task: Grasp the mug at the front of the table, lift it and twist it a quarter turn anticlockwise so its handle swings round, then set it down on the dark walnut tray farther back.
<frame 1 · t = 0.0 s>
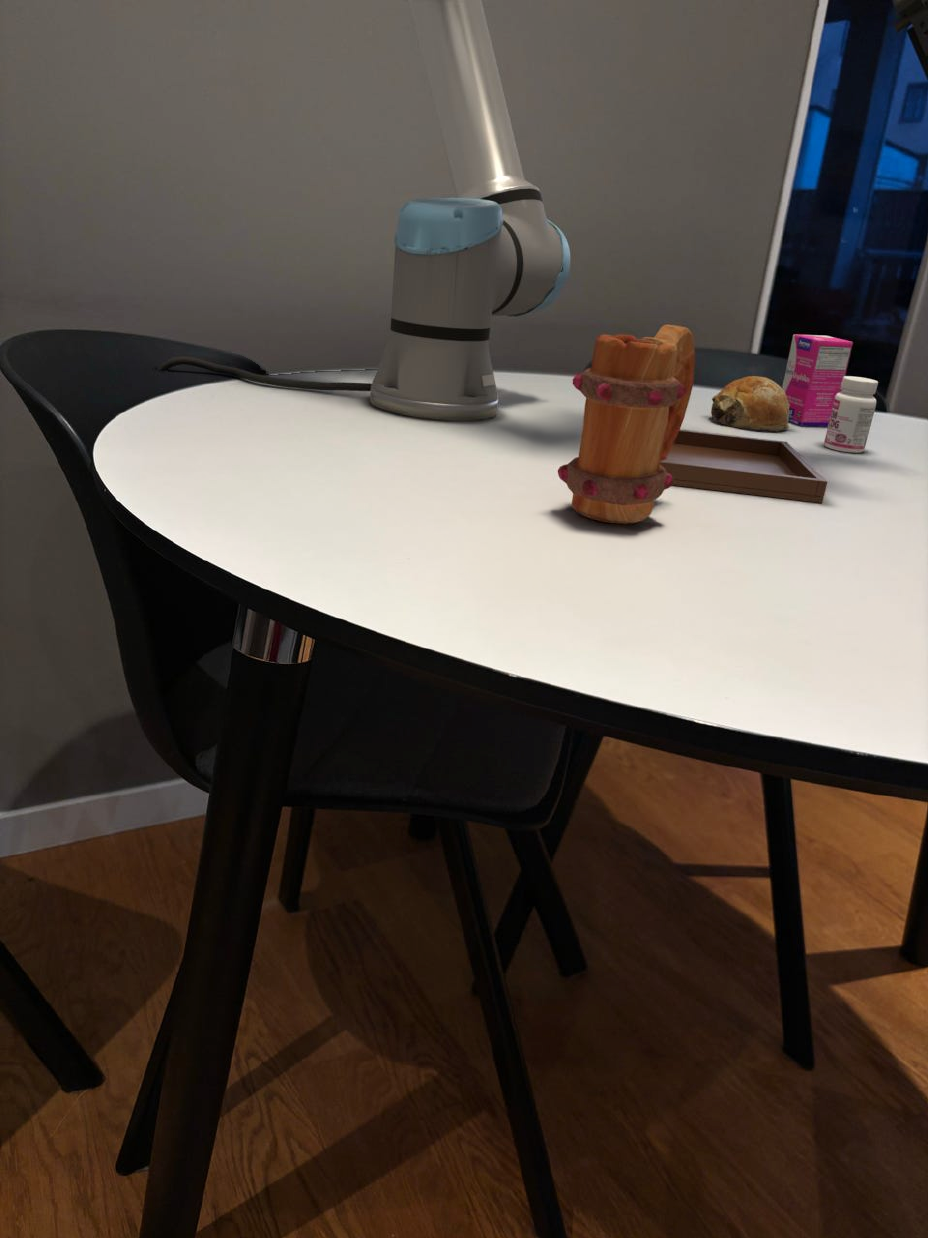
pill bottle: (842, 450, 120), on the table
mug: (623, 513, 82), on the table
tray: (700, 467, 101), on the table
bread roll: (746, 425, 129), on the table
supplement box: (803, 423, 135), on the table
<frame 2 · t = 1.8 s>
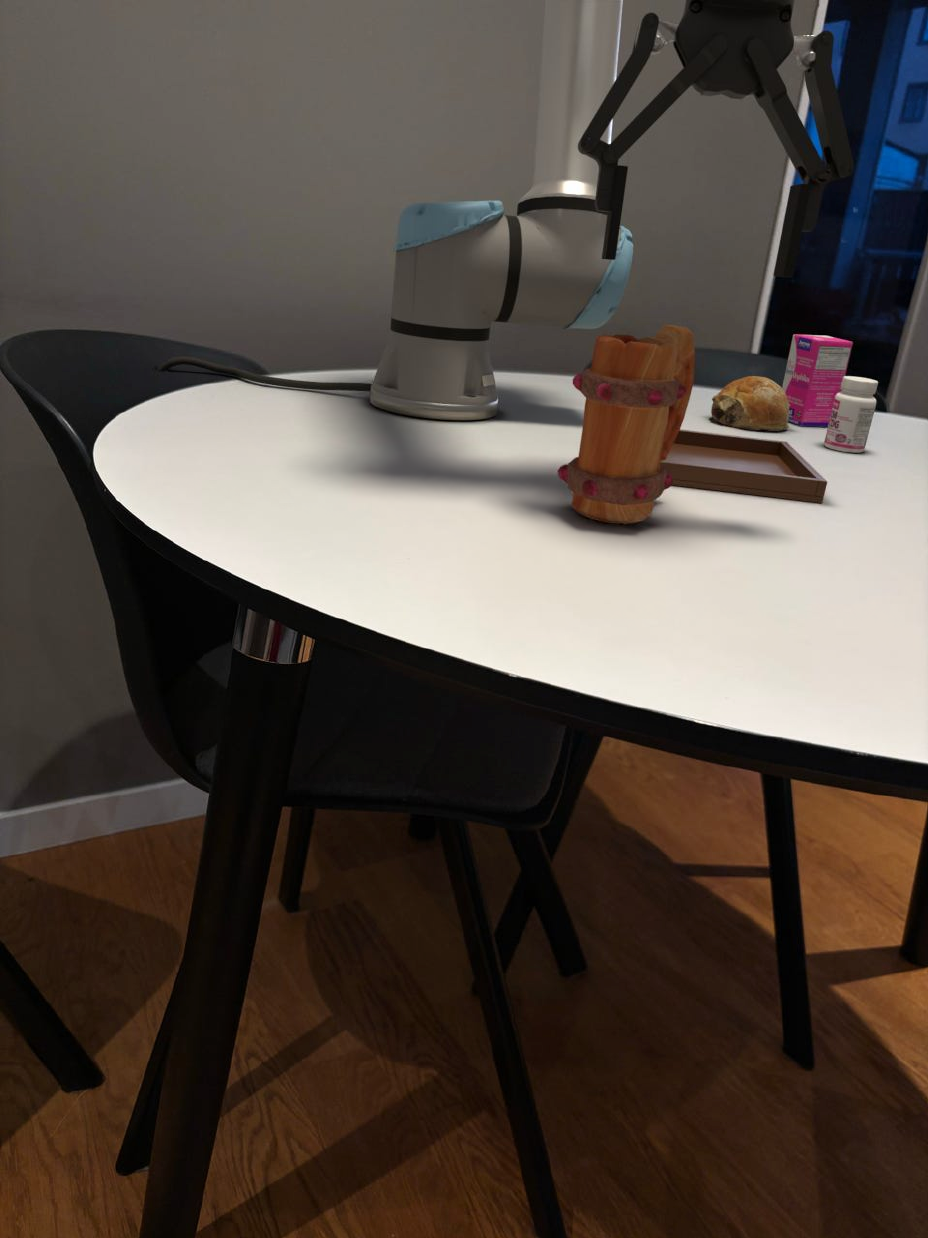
hand: (695, 268, 76), 20 cm above the table, tool pointing down, fingers open, 13 cm apart
nothing on the table moved.
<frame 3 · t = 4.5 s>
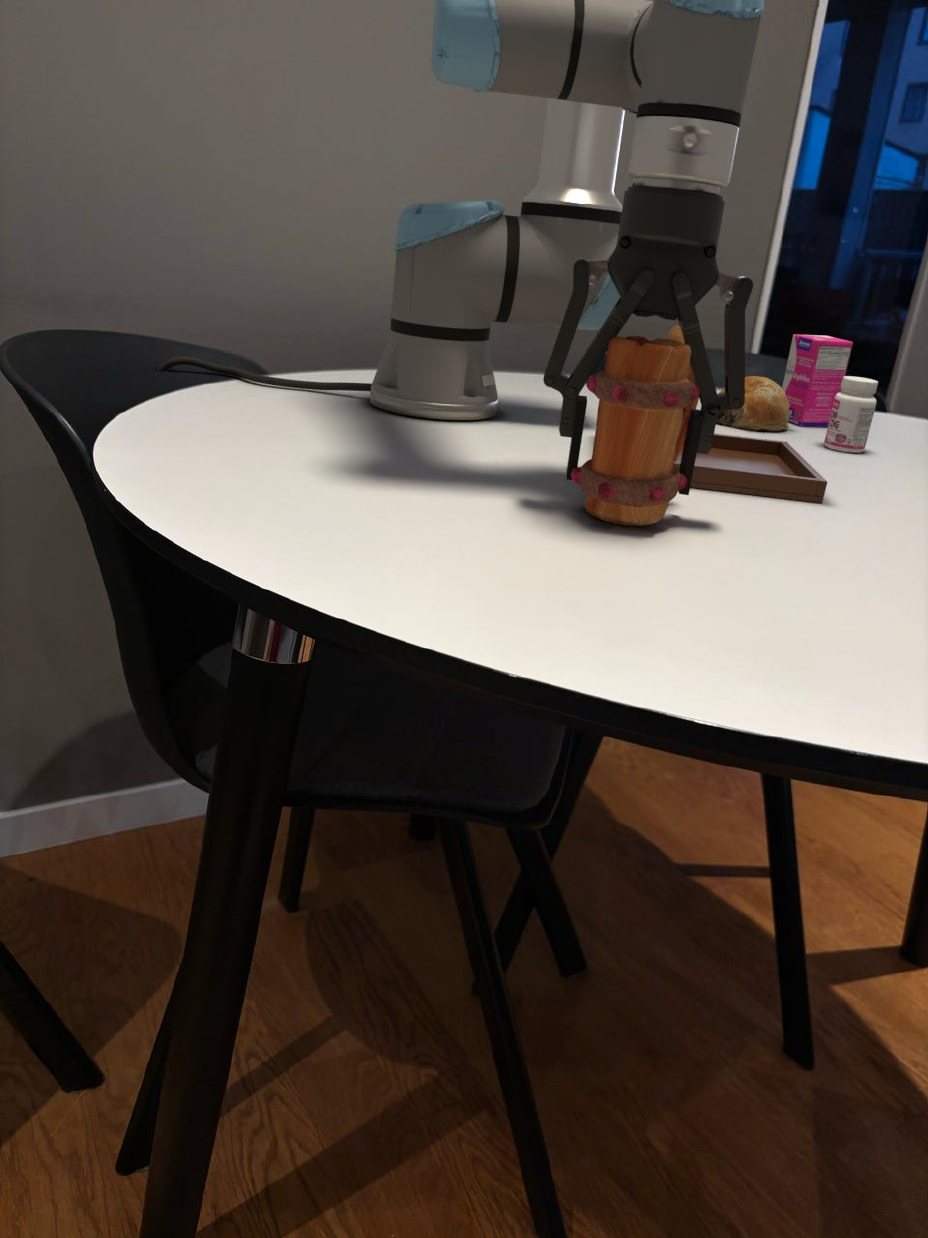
hand: (626, 483, 81), 2 cm above the table, tool pointing down, fingers closed on mug, 9 cm apart
mug: (635, 515, 82), on the table, touching gripper
everything else where it was.
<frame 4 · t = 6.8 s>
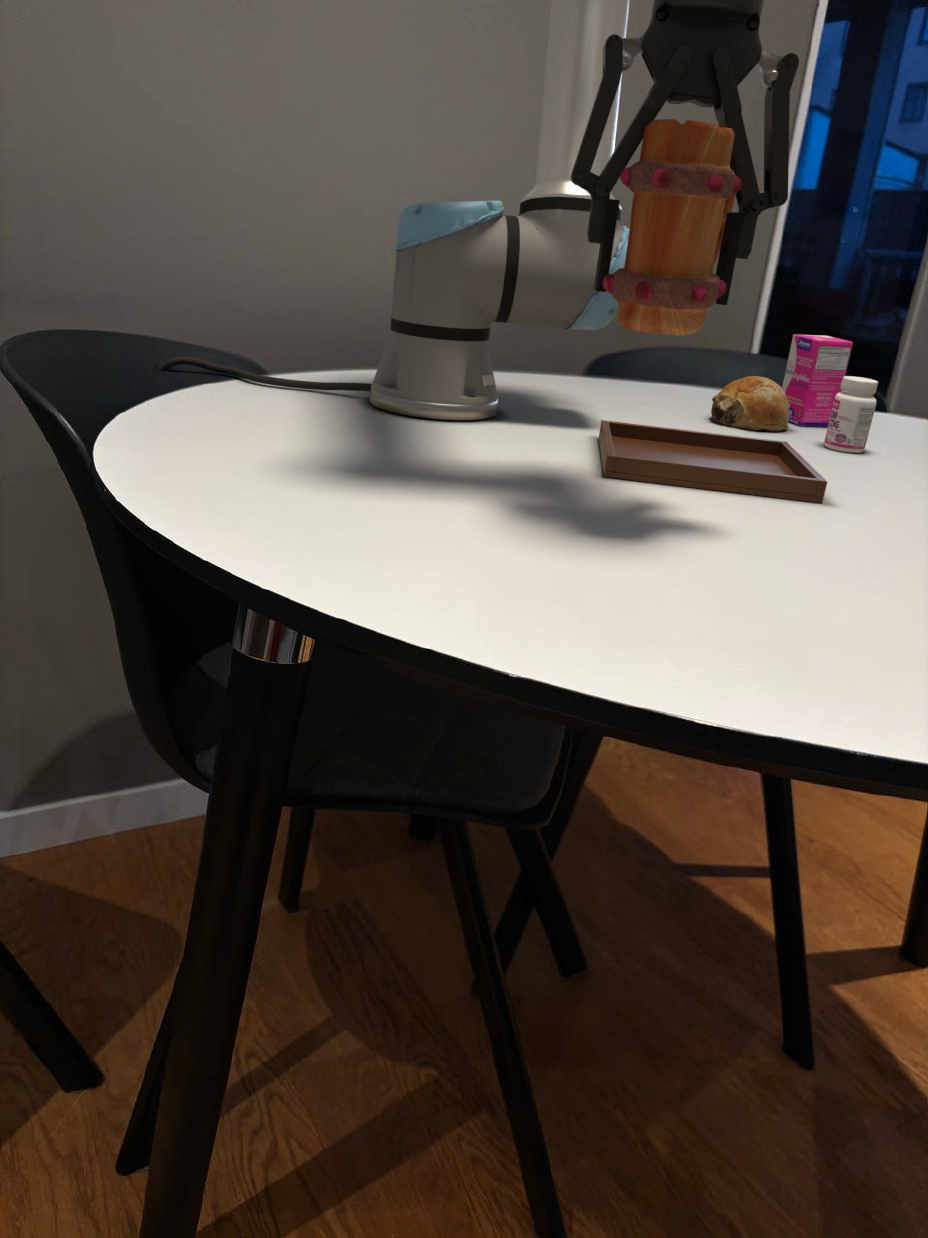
hand: (659, 296, 76), 17 cm above the table, tool pointing down, fingers closed on mug, 8 cm apart
mug: (669, 332, 77), point 15 cm above the table, touching gripper
everything else where it was.
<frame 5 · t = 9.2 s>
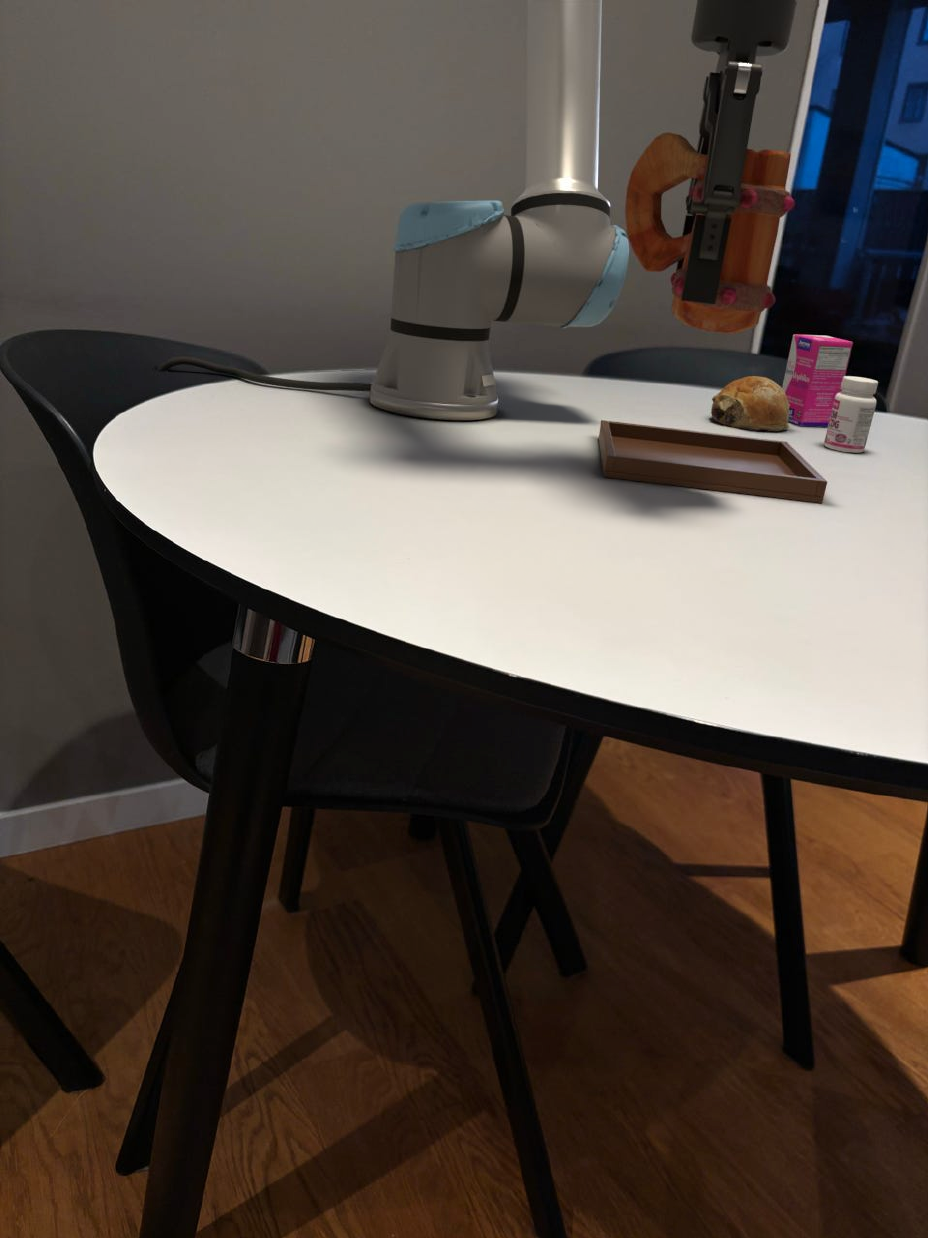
hand: (692, 297, 84), 17 cm above the table, tool pointing down, fingers closed on mug, 8 cm apart
mug: (685, 327, 86), point 14 cm above the table, touching gripper
everything else where it was.
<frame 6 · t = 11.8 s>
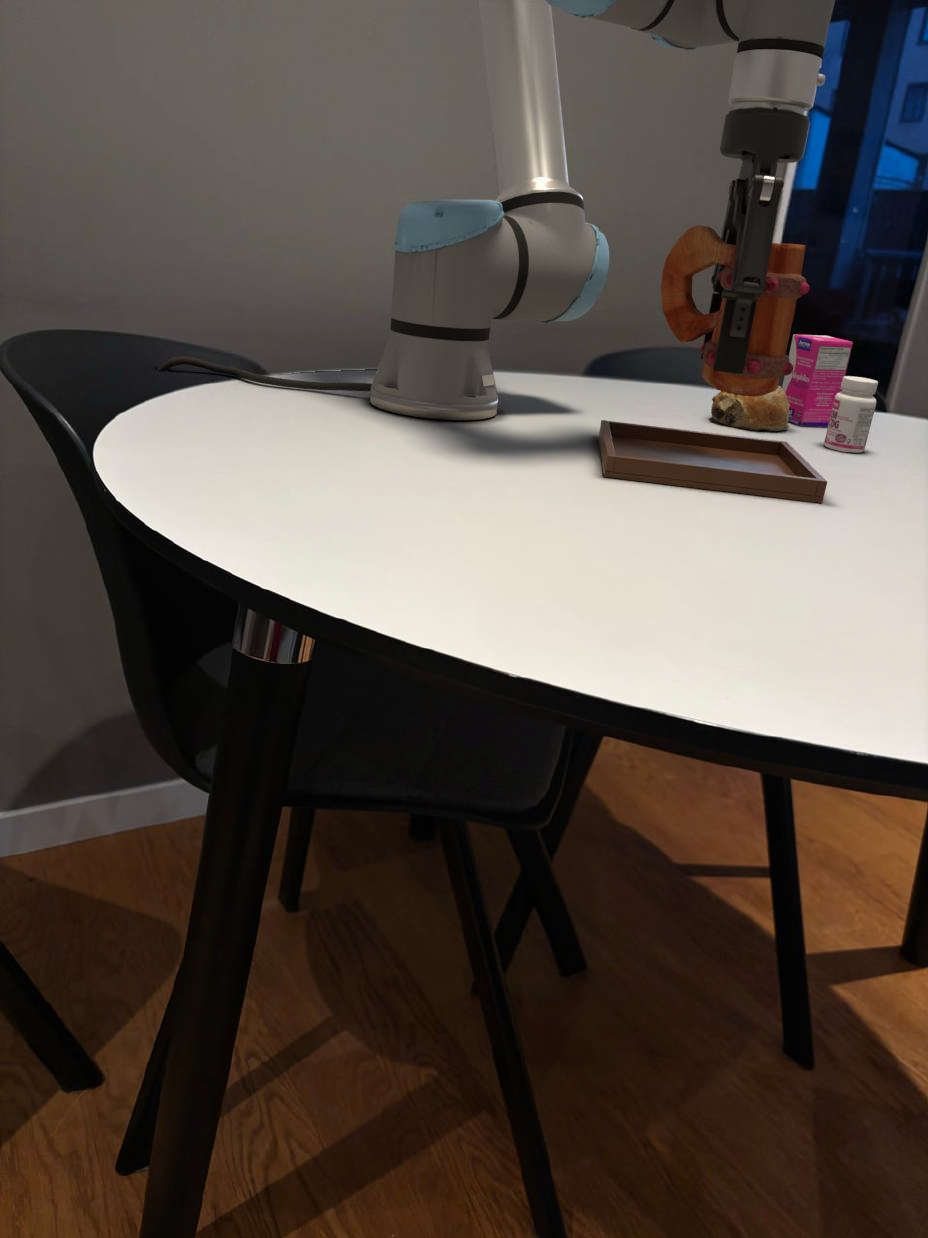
hand: (720, 365, 97), 10 cm above the table, tool pointing down, fingers closed on mug, 8 cm apart
mug: (714, 390, 99), point 8 cm above the table, touching gripper
everything else where it was.
when the fingers open (3 cm above the table, at t = 14.0 s): mug stays where it is, resting on tray.
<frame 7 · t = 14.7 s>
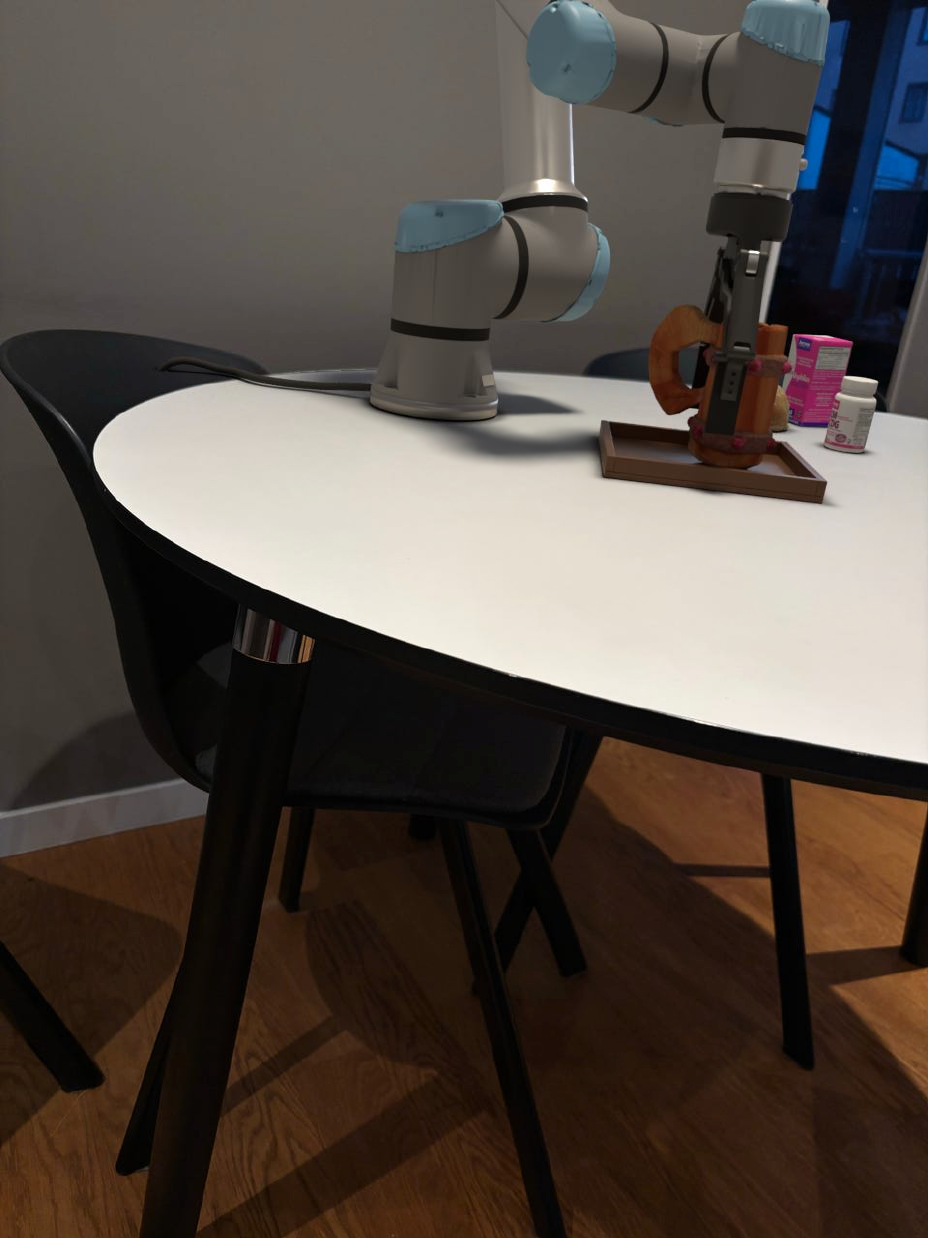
hand: (708, 420, 99), 5 cm above the table, tool pointing down, fingers open, 13 cm apart
mug: (700, 461, 102), resting on tray
everything else where it was.
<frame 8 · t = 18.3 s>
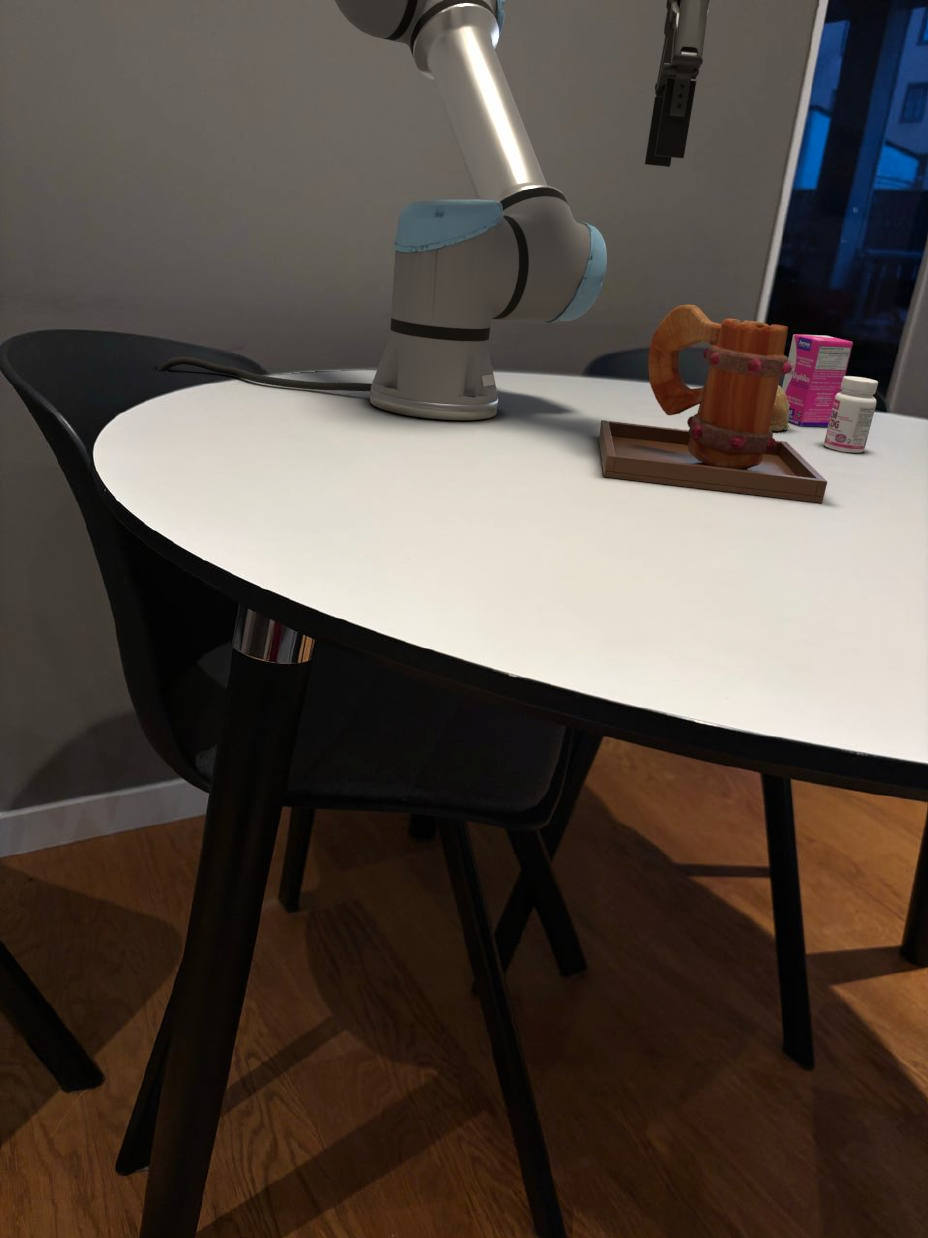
hand: (662, 161, 100), 29 cm above the table, tool pointing down, fingers open, 13 cm apart
nothing on the table moved.
at the end: mug inside the target area in the tray (1.2 cm from its centre), point 0.4 cm above the tray's base; mug tilted 0°; the gripper is holding nothing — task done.
